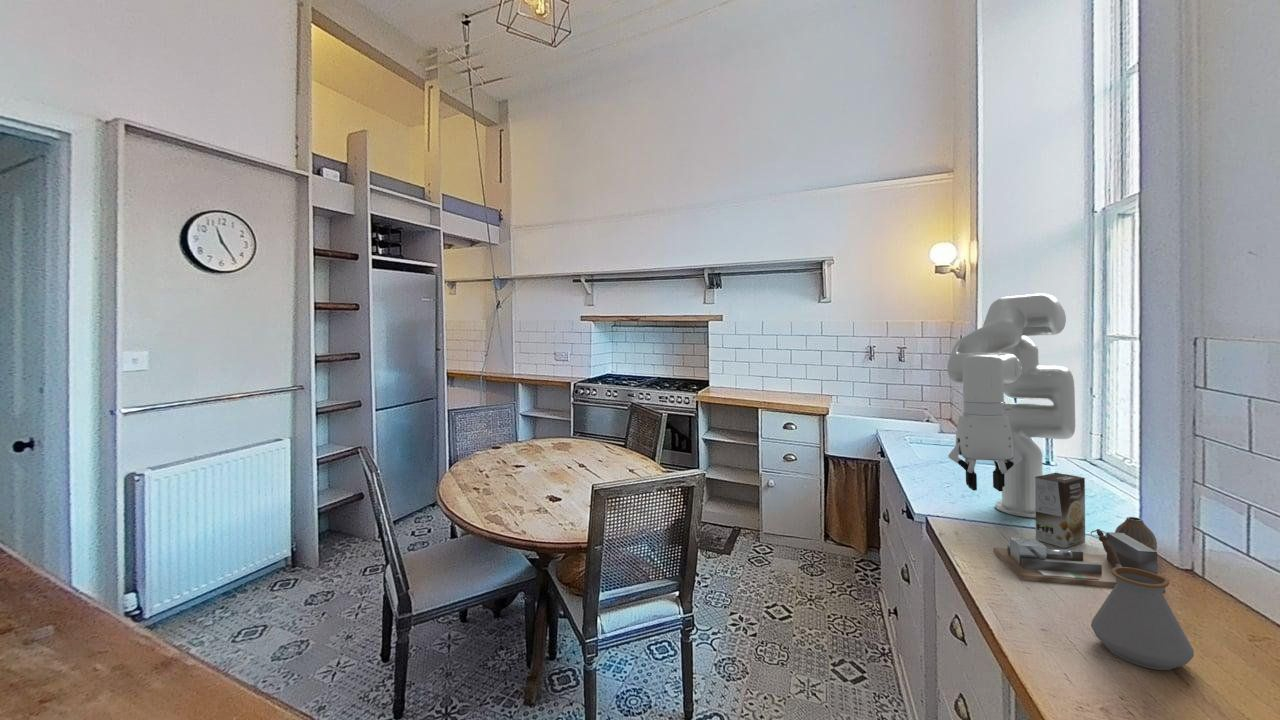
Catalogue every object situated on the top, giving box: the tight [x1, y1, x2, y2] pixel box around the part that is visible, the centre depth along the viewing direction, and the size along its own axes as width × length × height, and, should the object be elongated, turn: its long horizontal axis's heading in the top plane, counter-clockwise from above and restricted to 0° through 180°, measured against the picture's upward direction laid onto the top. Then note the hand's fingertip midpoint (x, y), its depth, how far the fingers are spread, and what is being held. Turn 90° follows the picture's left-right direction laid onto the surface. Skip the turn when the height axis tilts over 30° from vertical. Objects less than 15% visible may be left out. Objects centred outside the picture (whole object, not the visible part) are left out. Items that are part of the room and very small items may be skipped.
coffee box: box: [1035, 472, 1086, 549], centre depth 120 cm, size 9×6×16 cm
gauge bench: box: [993, 531, 1166, 592], centre depth 105 cm, size 24×14×7 cm, turn 74°
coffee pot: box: [1090, 528, 1195, 671], centre depth 82 cm, size 21×12×15 cm, turn 154°
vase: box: [1114, 516, 1158, 552], centre depth 110 cm, size 7×7×9 cm
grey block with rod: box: [1009, 536, 1073, 565], centre depth 105 cm, size 11×9×4 cm
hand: (985, 488), depth 109 cm, fingers open, 4 cm apart
